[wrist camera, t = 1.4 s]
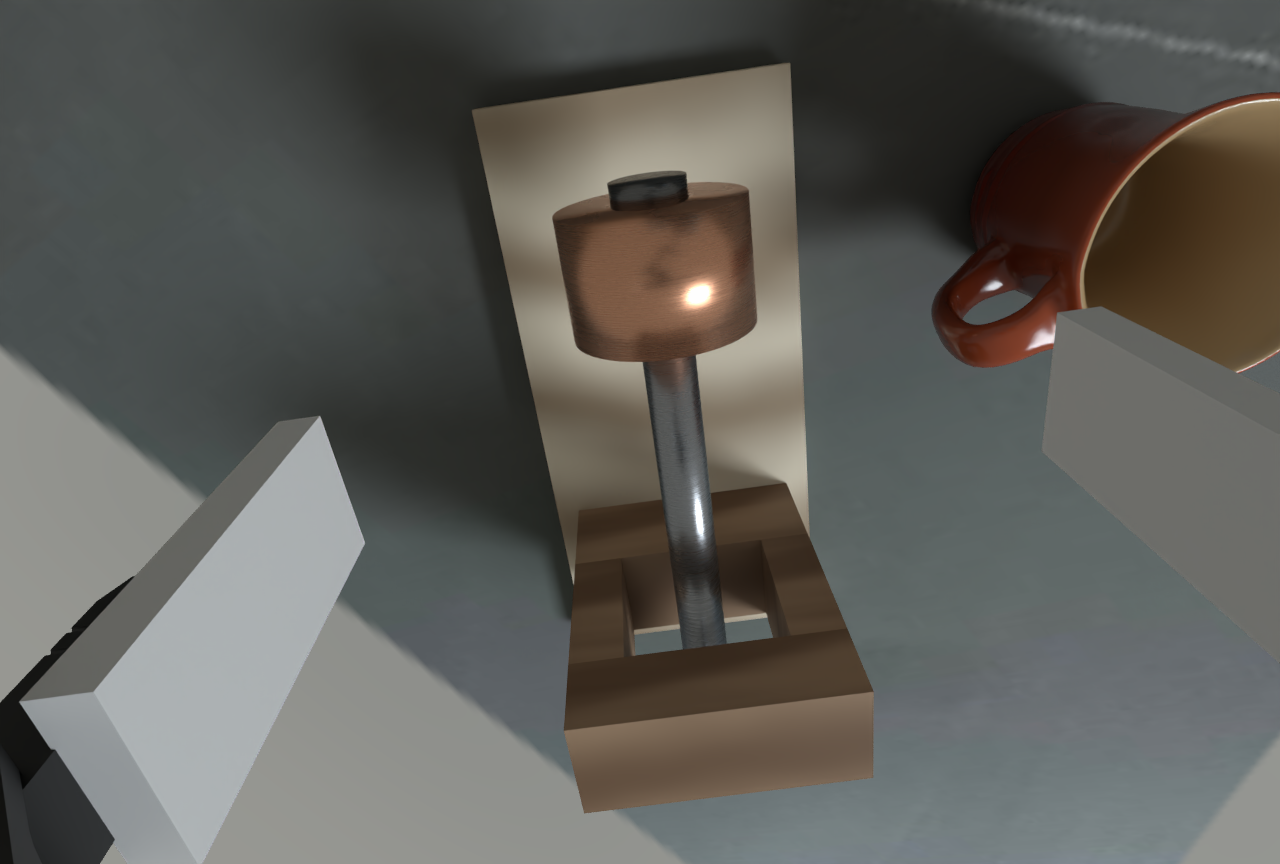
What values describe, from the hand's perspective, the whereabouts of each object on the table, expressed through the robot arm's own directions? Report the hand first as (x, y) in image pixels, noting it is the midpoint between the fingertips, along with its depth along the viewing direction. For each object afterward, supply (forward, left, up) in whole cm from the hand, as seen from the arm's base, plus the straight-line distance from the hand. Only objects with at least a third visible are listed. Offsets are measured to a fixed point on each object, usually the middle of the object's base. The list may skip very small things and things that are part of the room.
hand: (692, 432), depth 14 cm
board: (+8, 0, -20) cm, 21 cm away
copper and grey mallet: (+9, 0, -15) cm, 17 cm away
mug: (+2, +15, -20) cm, 25 cm away
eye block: (+15, 0, -19) cm, 24 cm away
